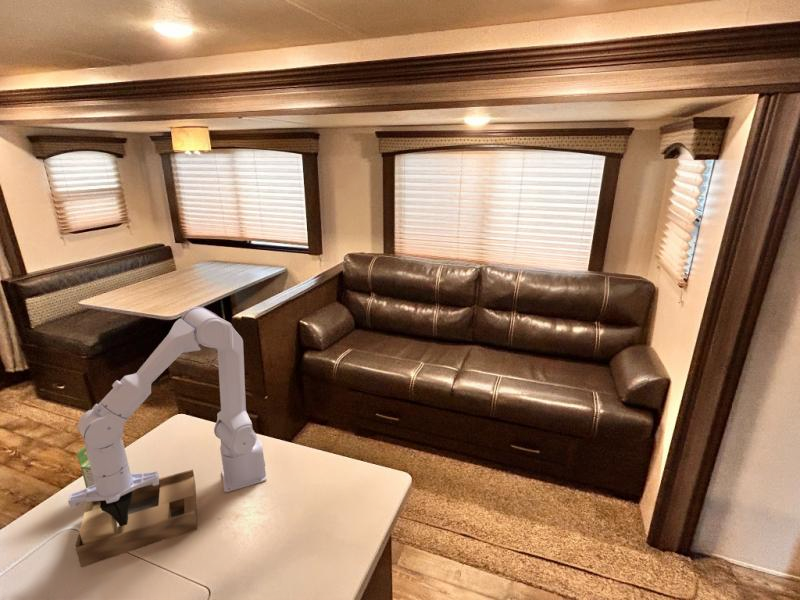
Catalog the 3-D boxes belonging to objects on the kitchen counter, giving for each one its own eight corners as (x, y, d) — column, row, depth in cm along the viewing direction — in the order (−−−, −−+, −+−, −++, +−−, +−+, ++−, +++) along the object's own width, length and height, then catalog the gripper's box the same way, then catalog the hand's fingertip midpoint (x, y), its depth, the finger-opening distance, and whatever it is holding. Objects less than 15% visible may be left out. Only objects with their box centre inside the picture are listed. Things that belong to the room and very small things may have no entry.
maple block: (118, 519, 86) (114, 504, 85) (115, 538, 82) (110, 522, 80) (89, 528, 84) (84, 512, 82) (84, 547, 79) (79, 531, 78)
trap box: (195, 484, 99) (192, 467, 98) (197, 529, 87) (193, 510, 86) (94, 513, 91) (89, 495, 89) (81, 567, 79) (74, 547, 77)
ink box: (104, 505, 93) (90, 455, 89) (89, 502, 94) (75, 452, 90) (129, 482, 100) (117, 435, 95) (114, 480, 100) (103, 433, 96)
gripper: (57, 493, 73) (75, 551, 78) (152, 468, 79) (164, 523, 84) (67, 468, 79) (83, 523, 84) (154, 446, 85) (165, 499, 90)
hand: (124, 521), depth 84 cm, fingers closed
